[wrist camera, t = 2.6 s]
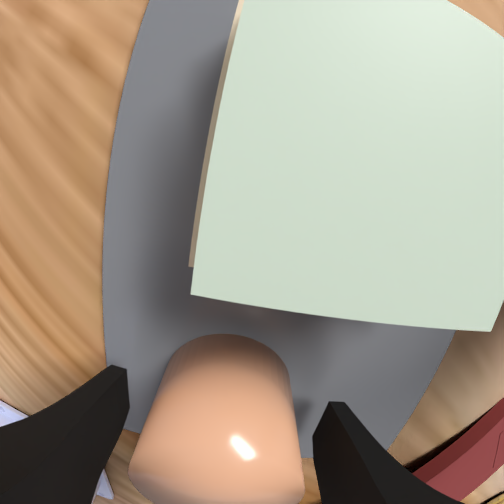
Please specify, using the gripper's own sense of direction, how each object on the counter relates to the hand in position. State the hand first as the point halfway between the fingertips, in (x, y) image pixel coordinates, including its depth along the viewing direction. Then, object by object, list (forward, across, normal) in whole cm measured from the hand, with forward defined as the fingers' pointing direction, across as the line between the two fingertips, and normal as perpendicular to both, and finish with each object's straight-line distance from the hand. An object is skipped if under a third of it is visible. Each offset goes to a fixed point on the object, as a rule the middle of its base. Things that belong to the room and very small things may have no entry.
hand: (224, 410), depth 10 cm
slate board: (+2, -2, -6) cm, 6 cm away
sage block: (-1, -2, -9) cm, 9 cm away
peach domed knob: (+1, 0, 0) cm, 1 cm away
